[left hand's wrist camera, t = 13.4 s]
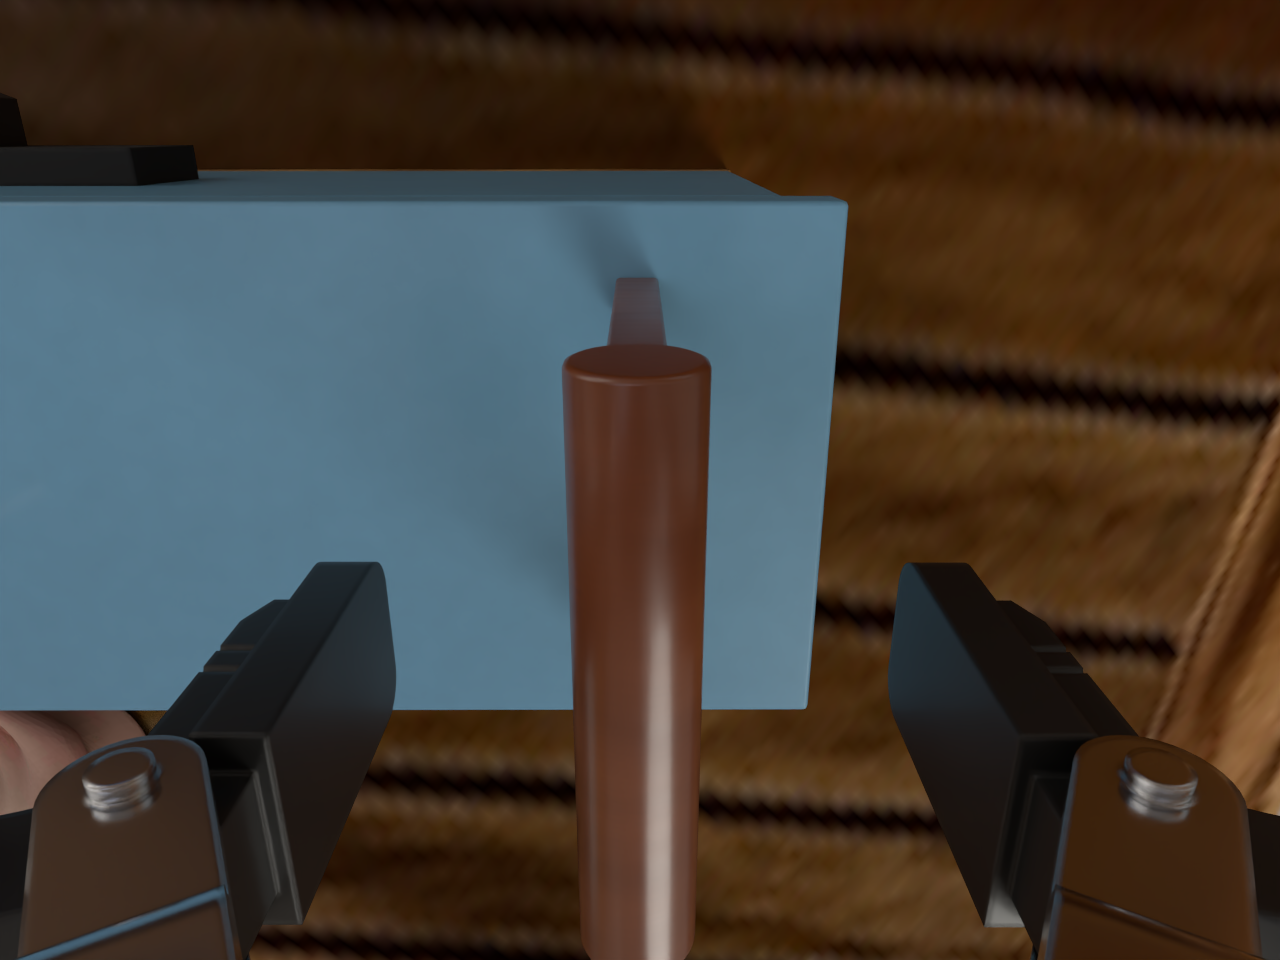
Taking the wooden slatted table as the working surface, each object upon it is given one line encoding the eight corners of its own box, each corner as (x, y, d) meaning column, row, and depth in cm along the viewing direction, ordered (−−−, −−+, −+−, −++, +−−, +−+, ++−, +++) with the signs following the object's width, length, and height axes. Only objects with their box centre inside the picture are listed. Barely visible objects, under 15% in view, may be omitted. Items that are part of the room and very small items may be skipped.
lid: (835, 195, 15) (1027, 260, 8) (798, 677, 19) (904, 1042, 11) (-158, 196, 15) (-931, 262, 8) (-5, 679, 19) (-433, 1046, 11)
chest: (727, 169, 25) (785, 195, 15) (716, 489, 29) (757, 678, 19) (157, 169, 25) (-155, 195, 15) (217, 489, 29) (-4, 678, 19)
